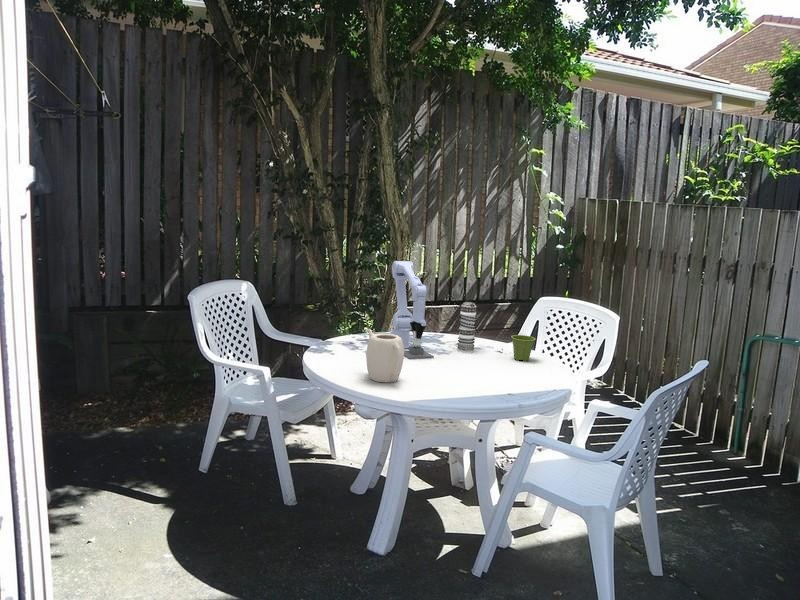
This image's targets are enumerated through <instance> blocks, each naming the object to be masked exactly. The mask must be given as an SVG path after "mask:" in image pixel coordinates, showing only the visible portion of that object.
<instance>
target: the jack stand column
mask: <svg viewBox="0 0 800 600" xmlns="http://www.w3.org/2000/svg"><path fill="white" fill-rule="evenodd" d="M421 345H422V338H421V339H417V337H416V331H413V332H412V346H415V347H422V346H421Z"/></svg>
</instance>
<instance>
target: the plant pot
mask: <svg viewBox="0 0 800 600" xmlns="http://www.w3.org/2000/svg"><path fill="white" fill-rule="evenodd" d="M511 338H512V348H513V349H512V350H513V359H514V360H515V359H516V360H515V361H518V360H523V361H522V362H527V360H528V361H529V360H530V357H531V353H532V349H533V345H534V343H535V341H536V338H535V337H534V336H530V335H526V334H525V335H523V334H514V335H511Z"/></svg>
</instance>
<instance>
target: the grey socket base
mask: <svg viewBox="0 0 800 600" xmlns="http://www.w3.org/2000/svg"><path fill="white" fill-rule="evenodd" d="M404 358H406V359H408V360H421V359H422V360H423V359H424V360H425V359H434V358H435V356H434V355H432V354H431V353H429V352H428V351H425V348H423V347H422V346H421V347H415V346H413V345H410V346H409V348H408V350H404Z"/></svg>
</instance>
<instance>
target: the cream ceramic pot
mask: <svg viewBox="0 0 800 600" xmlns="http://www.w3.org/2000/svg"><path fill="white" fill-rule="evenodd" d="M367 332H368V337H369V340H368V343H367V346H366V352H365V357H366V358H365V360H366V369H367V373H368V374H367V375H368V378H369V379H371V380H372V381H374V382H377V383H378V382H379V383H380V382H381V383H385V384H386V383H393V382H397V380H398V379H399V377H400V374H401V373H402V368H403V365H404V364H403V363H404V358H405V356H404V351H405V349H404V345H403V342H402V338H400V337H399V336H397V335H394V334H391V333H376V334H373V331H372V329H368V330H367Z"/></svg>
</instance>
